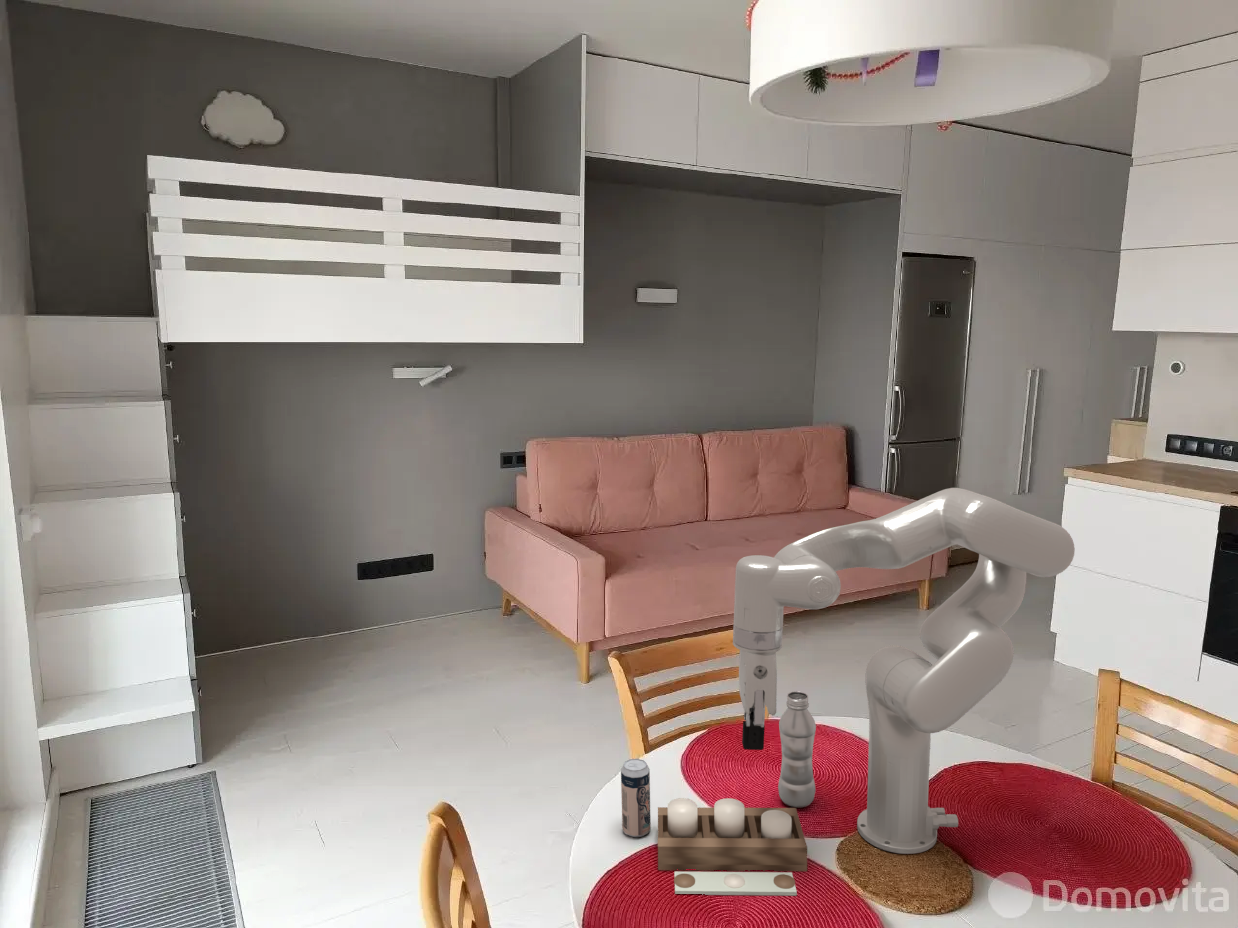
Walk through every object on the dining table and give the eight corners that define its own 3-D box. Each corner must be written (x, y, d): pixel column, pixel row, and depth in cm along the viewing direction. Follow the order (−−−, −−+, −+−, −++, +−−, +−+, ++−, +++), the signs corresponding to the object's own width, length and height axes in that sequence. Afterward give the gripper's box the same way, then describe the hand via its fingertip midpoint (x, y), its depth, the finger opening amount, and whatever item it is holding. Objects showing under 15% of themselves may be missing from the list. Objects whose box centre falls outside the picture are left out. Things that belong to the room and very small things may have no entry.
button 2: (788, 834, 140) (789, 809, 139) (793, 852, 135) (793, 826, 134) (759, 834, 140) (759, 809, 139) (763, 852, 135) (763, 826, 135)
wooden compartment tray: (795, 829, 143) (795, 807, 142) (806, 871, 132) (807, 847, 131) (658, 829, 144) (657, 807, 143) (658, 869, 133) (657, 846, 133)
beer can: (648, 840, 141) (646, 772, 139) (619, 837, 142) (618, 770, 140) (652, 824, 146) (651, 758, 144) (625, 821, 147) (623, 756, 145)
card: (792, 875, 131) (792, 871, 131) (797, 895, 127) (797, 890, 126) (673, 874, 132) (673, 870, 132) (674, 894, 127) (674, 889, 127)
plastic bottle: (818, 796, 153) (820, 690, 150) (810, 816, 147) (812, 706, 144) (783, 789, 156) (784, 685, 153) (773, 808, 150) (774, 700, 146)
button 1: (696, 822, 140) (696, 798, 140) (698, 840, 135) (698, 814, 135) (667, 822, 140) (667, 797, 140) (668, 839, 136) (667, 814, 135)
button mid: (742, 823, 140) (742, 798, 139) (745, 840, 135) (745, 814, 134) (713, 822, 140) (713, 798, 139) (715, 840, 135) (715, 814, 135)
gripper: (789, 654, 125) (784, 771, 127) (774, 620, 139) (769, 726, 142) (738, 653, 125) (733, 770, 128) (728, 619, 140) (724, 725, 142)
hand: (752, 746), depth 135 cm, fingers closed
